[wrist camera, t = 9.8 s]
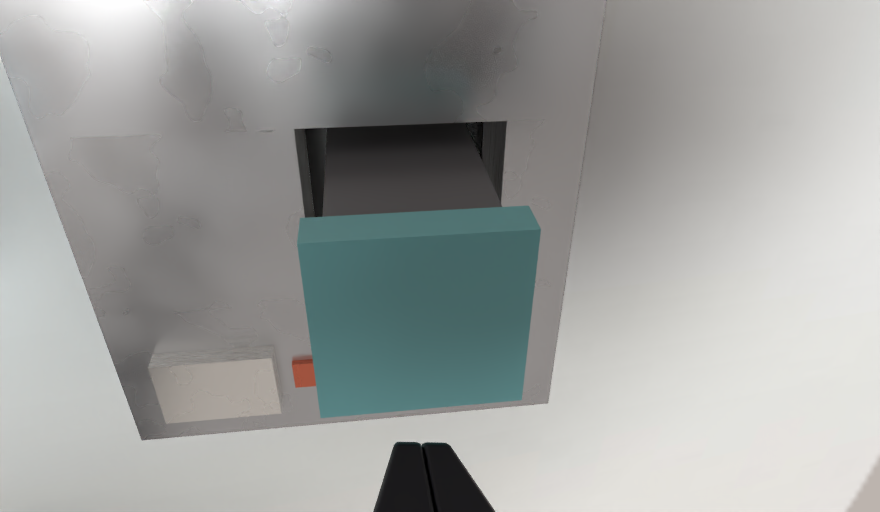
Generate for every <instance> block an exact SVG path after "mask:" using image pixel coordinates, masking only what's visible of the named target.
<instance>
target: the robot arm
mask: <svg viewBox="0 0 880 512" xmlns="http://www.w3.org/2000/svg"><path fill="white" fill-rule="evenodd" d="M374 512H495V511H494V509H493V508H492V506H491V505H490V503H489V502H488V500H487V499H486V497H485V496H484V494H483V493H482V491H481V490H480V489H479V487H478V486H477V484H476V483H475V481H474V480H473V478H472V477H471V475H470V474H469V472H468V471H467V470H466V468H465V467H464V465H463V464H462V462H461V461H460V459H459V458H458V456H457V455H456V453H455V452H454V451H453V449H452V448H451V446H450V445H448V444H447V443H424V444H422V446H421V444H419V443H417V442H397V443H395V445H394V447H393V450H392V453H391V456H390V460H389V463H388V466H387V469H386V473H385V476H384V479H383V482H382V486H381V489H380V492H379V495H378V499H377V502H376V505H375V508H374Z"/></svg>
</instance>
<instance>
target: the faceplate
mask: <svg viewBox="0 0 880 512" xmlns="http://www.w3.org/2000/svg"><path fill="white" fill-rule="evenodd" d="M606 1H607V0H0V56H1V59H2V62H3V64H4V67H5V70H6V72H7V75H8V78H9V81H10V83H11V86H12V89H13V91H14V94H15V97H16V100H17V102H18V105H19V108H20V110H21V113H22V116H23V119H24V121H25V124H26V127H27V129H28V132H29V135H30V138H31V140H32V143H33V146H34V148H35V151H36V154H37V157H38V159H39V162H40V165H41V167H42V170H43V173H44V176H45V178H46V181H47V184H48V186H49V189H50V192H51V195H52V197H53V200H54V203H55V205H56V208H57V211H58V214H59V216H60V219H61V222H62V224H63V227H64V230H65V233H66V235H67V238H68V241H69V244H70V246H71V249H72V252H73V254H74V257H75V260H76V263H77V265H78V268H79V271H80V273H81V276H82V279H83V282H84V284H85V287H86V290H87V292H88V295H89V298H90V301H91V303H92V306H93V309H94V311H95V314H96V317H97V320H98V322H99V325H100V328H101V330H102V333H103V336H104V339H105V341H106V344H107V347H108V349H109V352H110V355H111V358H112V360H113V363H114V366H115V368H116V371H117V374H118V377H119V379H120V382H121V385H122V387H123V390H124V393H125V396H126V398H127V401H128V404H129V406H130V409H131V412H132V415H133V417H134V420H135V423H136V425H137V428H138V431H139V434H140V436H141V439H142V440H150V439H161V438H172V437H183V436H194V435H205V434H216V433H227V432H238V431H249V430H260V429H271V428H282V427H292V426H303V425H314V424H325V423H336V422H347V421H358V420H369V419H380V418H391V417H402V416H413V415H424V414H435V413H446V412H457V411H468V410H479V409H490V408H501V407H512V406H523V405H534V404H545V403H548V399H549V392H550V385H551V378H552V372H553V365H554V358H555V351H556V344H557V337H558V330H559V323H560V317H561V310H562V303H563V296H564V289H565V282H566V275H567V269H568V262H569V255H570V248H571V241H572V234H573V227H574V220H575V214H576V207H577V200H578V193H579V186H580V179H581V172H582V166H583V159H584V152H585V145H586V138H587V131H588V124H589V117H590V111H591V104H592V97H593V90H594V83H595V76H596V69H597V63H598V56H599V49H600V42H601V35H602V28H603V21H604V14H605V8H606ZM464 122H484V124H483V144H482V162H483V164H484V167H485V169H486V171H487V173H488V176H489V178H490V180H491V183H492V185H493V187H494V189H495V192H496V194H497V196H498V199H499V201H500V203H501V205H502V207H510V206H529V207H530V209H531V211H532V213H533V215H534V216H535V218H536V220H537V222H538V224H539V226H540V228H541V235H540V243H539V252H538V261H537V270H536V279H535V288H534V296H533V305H532V314H531V323H530V332H529V341H528V350H527V358H526V367H525V376H524V385H523V394H522V400H518V401H507V402H496V403H485V404H474V405H462V406H451V407H440V408H429V409H418V410H407V411H396V412H385V413H374V414H362V415H351V416H340V417H329V418H321V417H320V410H319V403H318V395H317V388H316V380H315V373H314V366H313V358H312V351H311V343H310V336H309V329H308V321H307V314H306V306H305V299H304V292H303V284H302V277H301V270H300V262H299V255H298V247H297V239H298V231H299V222H300V218H308V217H315V213H314V204H313V195H312V186H311V177H310V169H309V160H308V151H307V142H306V133H305V129H309V128H334V127H360V126H386V125H412V124H438V123H464Z"/></svg>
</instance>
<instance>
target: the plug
mask: <svg viewBox="0 0 880 512" xmlns="http://www.w3.org/2000/svg"><path fill="white" fill-rule="evenodd" d="M540 235H541V228H540V226H539V224H538V222H537V220H536V218H535V216H534V215H533V213H532V211H531V209H530V207H529V206H510V207H502V205H501V203H500V201H499V199H498V196H497V194H496V192H495V189H494V187H493V185H492V183H491V180H490V178H489V176H488V173H487V171H486V169H485V167H484V164H483V162H482V160H481V158H480V155H479V153H478V151H477V148H476V146H475V144H474V142H473V139H472V137H471V135H470V133H469V130H468V128H467V126H466V123H465V122H464V123H438V124H412V125H386V126H360V127H334V128H327V144H326V162H325V180H324V199H323V217H308V218H300V222H299V231H298V239H297V247H298V255H299V262H300V270H301V277H302V284H303V292H304V299H305V306H306V314H307V321H308V329H309V336H310V343H311V351H312V358H313V366H314V373H315V380H316V388H317V395H318V403H319V410H320V417H321V418H329V417H340V416H351V415H362V414H374V413H385V412H396V411H407V410H418V409H429V408H440V407H451V406H462V405H474V404H485V403H496V402H507V401H518V400H522V394H523V385H524V376H525V367H526V358H527V350H528V341H529V332H530V323H531V314H532V305H533V296H534V288H535V279H536V270H537V261H538V252H539V243H540Z"/></svg>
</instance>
